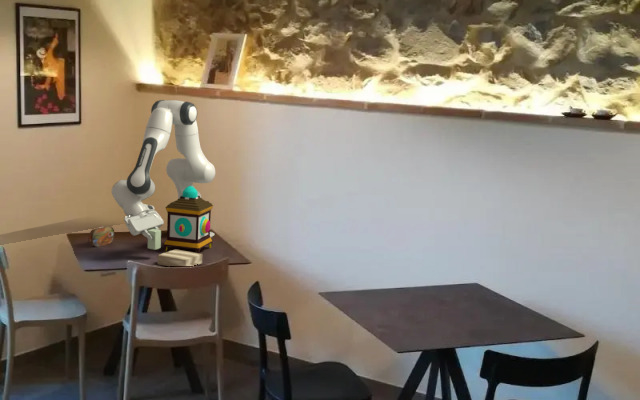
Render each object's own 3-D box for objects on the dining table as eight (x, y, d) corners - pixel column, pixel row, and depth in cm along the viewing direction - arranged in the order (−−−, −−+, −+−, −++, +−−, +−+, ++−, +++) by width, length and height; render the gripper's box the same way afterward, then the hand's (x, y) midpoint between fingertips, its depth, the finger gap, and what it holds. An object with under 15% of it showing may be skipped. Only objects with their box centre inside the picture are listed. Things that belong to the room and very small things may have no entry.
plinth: (175, 258, 341) (175, 249, 340) (202, 263, 336) (202, 254, 335) (157, 264, 329) (157, 255, 329) (185, 269, 324) (185, 260, 323)
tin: (92, 248, 349) (93, 230, 348) (87, 247, 351) (87, 229, 349) (115, 242, 363) (115, 225, 361) (109, 241, 364) (110, 224, 363)
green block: (153, 246, 340) (153, 228, 339) (160, 247, 339) (160, 230, 337) (147, 248, 337) (147, 230, 335) (155, 249, 335) (155, 231, 334)
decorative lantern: (159, 252, 350) (160, 186, 345) (176, 243, 369) (178, 181, 364) (200, 257, 346) (202, 191, 341) (216, 247, 365) (218, 185, 360)
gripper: (126, 212, 328) (145, 238, 326) (155, 205, 346) (173, 229, 344) (117, 221, 331) (136, 247, 329) (147, 213, 349) (164, 237, 347)
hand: (155, 238), depth 337 cm, fingers closed on green block, 4 cm apart
